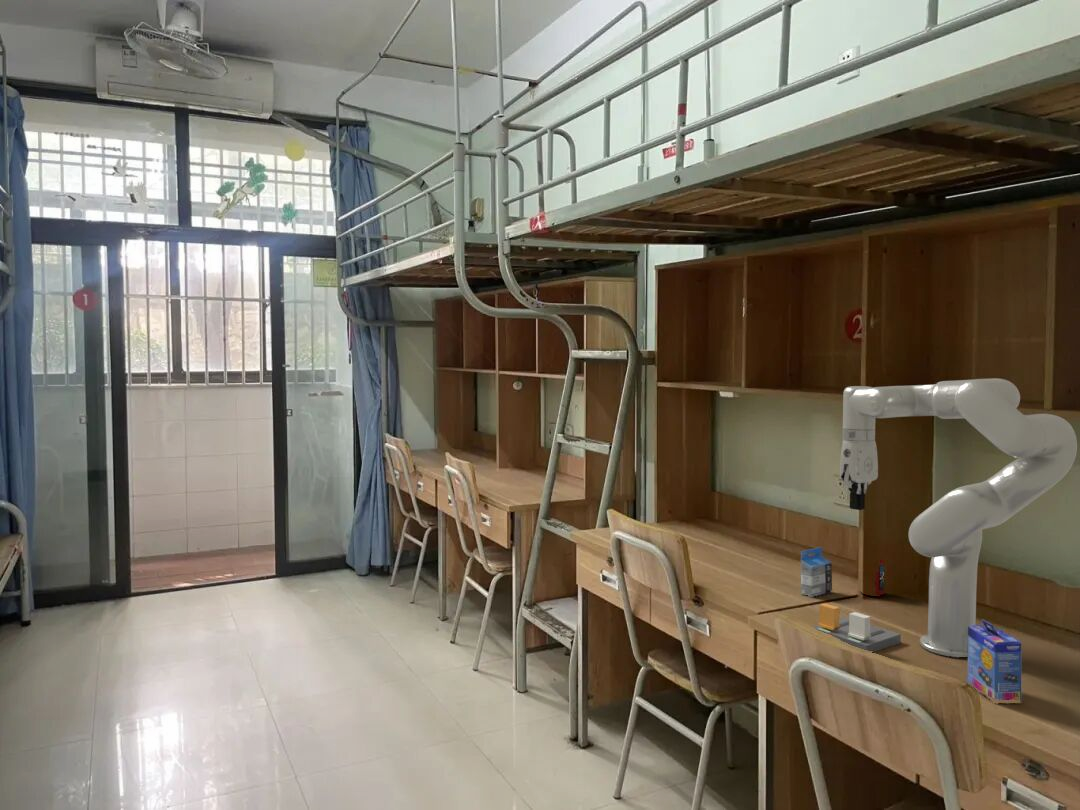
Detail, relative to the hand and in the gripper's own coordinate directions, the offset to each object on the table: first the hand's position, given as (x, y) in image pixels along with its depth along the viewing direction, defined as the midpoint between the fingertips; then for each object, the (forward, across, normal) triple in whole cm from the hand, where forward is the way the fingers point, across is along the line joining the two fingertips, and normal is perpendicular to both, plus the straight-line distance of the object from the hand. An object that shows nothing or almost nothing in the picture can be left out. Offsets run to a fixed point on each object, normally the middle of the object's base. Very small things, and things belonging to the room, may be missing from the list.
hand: (857, 508), depth 202 cm
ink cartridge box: (+28, -20, -42) cm, 54 cm away
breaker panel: (+28, -13, -8) cm, 32 cm away
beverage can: (+28, +22, +9) cm, 37 cm away
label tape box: (+28, +10, +18) cm, 35 cm away
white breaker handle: (+25, -18, -12) cm, 33 cm away
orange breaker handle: (+25, -17, -4) cm, 31 cm away
